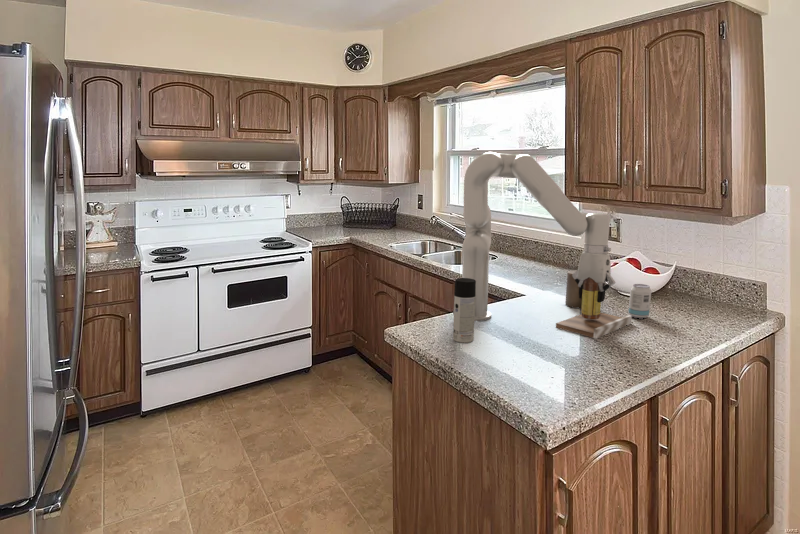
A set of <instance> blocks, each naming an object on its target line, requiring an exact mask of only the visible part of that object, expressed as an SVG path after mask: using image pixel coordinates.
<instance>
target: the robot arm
mask: <svg viewBox="0 0 800 534" xmlns="http://www.w3.org/2000/svg"><path fill="white" fill-rule="evenodd" d="M493 177H495V178H508V179H517V180H518V181H519V182H520V183H521V185H522V186H523V187H524V188H525V189H526V190H527V192H528V193H530V195H531V196H532V197H533V199H535V200H536V202H538V204H539V205H540V206H541V207H542V208H544V209H545V210H546V211H547V212H548V213H549V215H551V216H552V218H553V219H554V220H555V221H556V222H557V223H558V224H559V226H560V227H561V228H562V229H563V230H564V231H565V232H566V233H567V234H568V235H570V236H572V237H579V236H581V235H583V234H584V243H583V251H582V252H581V255H580V258H579V261H578V268H577V271H576V272H575V273H573V274H572V277H573V278H574V279H575V281H576V283H577V284H578V287H579V298H582V290H583V281H584V280H585V279H587V278H588V277H590V278H592V279H593V280H594V281H595V282H596V283H598V285H599V289H600V291H598V299H597V302H599V303H600V302H601V303H602V302H604V300H605V299H606V291H607V290H609V289H610V288H611V287H612V286H613V285H615V284H616V280H615V279H614V278H613V277H612V275H611V270H612V269H611V267H612V266H611V257H610V253H609V252H611V251H612V247H609V237H610V235H609V234H610V223H611V222H610V221H611V217H610V215H609V214H607V213H602V212H591V213H589V212H588V213H587V212H581V211H580V210H579V209H578V208H577V207H576V206H575V204H573V203H572V201H571V200H570V199H569V198H568V197H567V196H566V194H565V193H564V192H563V190H562V189H561V188H560V187H561V186H559V185H558V184H557V183H556V181H555V180H554V179H553V178H552V177H551V176H550V175H549V173H548V172H547V171H546V170H545V169H544V168H543V167H542V166H541V164H539V163H538V161H536V159H535V158H534V157H533V156H531V155H529V154H512V153H500V152H499V153H497V152H493V151H488V152H484V153H483V154H480V155H479V156H477V157H476V158H475V159H473V160H472V161H471V162H470V164H469V165H468V166H467V169H466V170H465V173H464V179H463V212H462V213H463V216H462V217H463V221H464V223H465V237H464V239H463V242H462V245H461V250H462V251H461V256H462V257H461V258H462V268H461V270H462V272H461V273H462V274H461V276H462V277H461V278H470V279H474V280H476V296H475V319H474V322H483V321H487V319H488V320H489V319H491V318H492V313H491V312H490V311H489V310H488V300H489V299H488V298H489V295H488V294H489V278H490V277H489V267H490V264H489V263H490V248H491V245H492V212H491V208H490V206H489V203H488V202H489V201H488V195H489V187H488V186H489V185H488V184H489V180H490V179H491V178H493ZM607 282H608V283H607ZM452 314H453V315H454V310H452Z"/></svg>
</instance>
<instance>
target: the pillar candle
mask: <svg viewBox="0 0 800 534" xmlns="http://www.w3.org/2000/svg"><path fill="white" fill-rule="evenodd" d="M577 270H578V269H577ZM577 270H576V269H575V270H574V269H573V270H568V271H567V272H566V274H567V276H566V278H567V279H566V286H565V287H566V290H565V302H564V303H565V304H564V305H565V306H566V307H570V308H575V309H581V310H582V298H579V287H578V284H577V283H576V281H575V279H574V278H573V277H572V274H573V273H575V272H576V271H577Z"/></svg>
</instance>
